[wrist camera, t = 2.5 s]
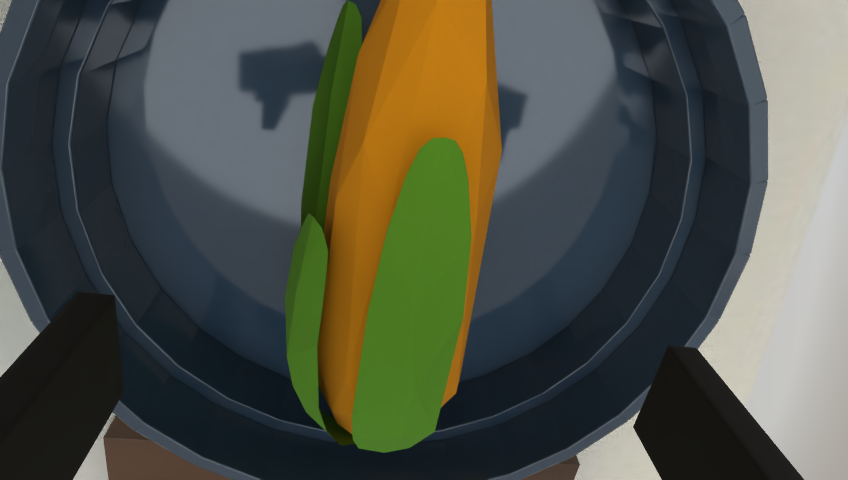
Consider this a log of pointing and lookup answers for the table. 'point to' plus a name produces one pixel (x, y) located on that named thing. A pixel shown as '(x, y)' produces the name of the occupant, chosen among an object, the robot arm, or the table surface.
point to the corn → (393, 218)
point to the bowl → (281, 216)
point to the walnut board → (173, 476)
